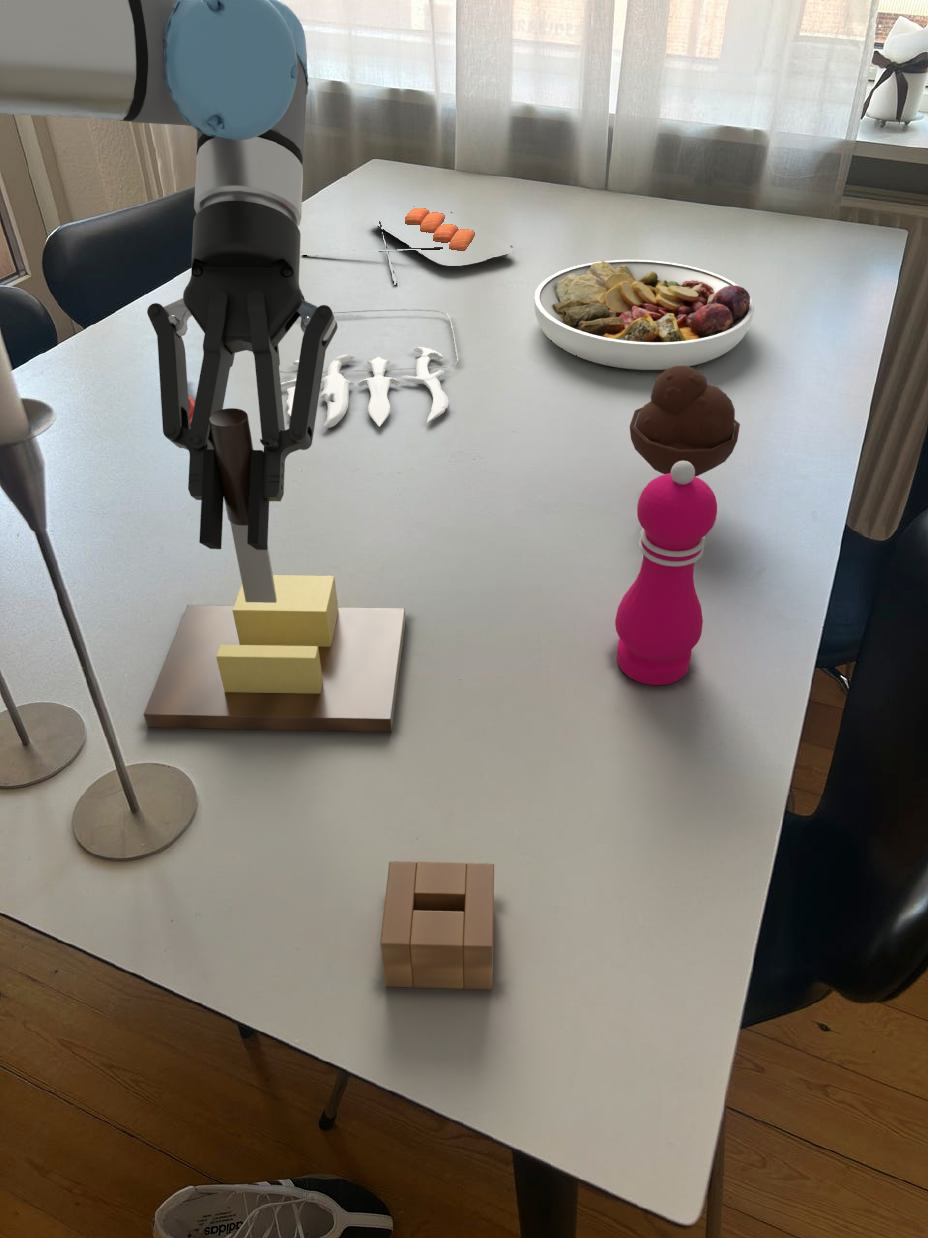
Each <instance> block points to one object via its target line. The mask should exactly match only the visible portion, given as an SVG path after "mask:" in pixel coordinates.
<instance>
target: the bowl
mask: <svg viewBox="0 0 928 1238" xmlns="http://www.w3.org/2000/svg"><path fill="white" fill-rule="evenodd" d="M533 304H534V305H533V307H534V314H535V315H534V316H535V318H536V321H537V323H538V325H539V327H540V329H541V330H542V332H543V333H544V334H545V336H546V337H547V338H548V339H549V340H550V341H551V340H552V341H551V342H552V343H554V344H555V346H557V347H559V348H560V349H562V348H563V349H562V350H564V351H566V352H567V353H568V354H571V355H574V356H576V355H577V356H576V357H578V358H580V359H583V360H585V361H588V362H591V363H595V364H599V365H603V366H607V367H613V368H618V369H627V370H637V371H639V370H640V371H666V370H667V369H669V368H671V367H674V366H689V367H691V366H696V365H701V364H704V363H706V362H707V363H708V362H710V361H712V360H715V359H717V358H719V357H721V356H723V355H725V354H727V353H728V352H729V351H731V350H732V349H734V348H735V347H736V346H737V345H738V344H739V343H740V342H741V341H742V340H743V339H744V337H745V336H746V335H747V333H748V331H749V329H750V327H751V324H752V321H753V319H754V318H753V317H754V313H755V305H754V301H753V299H752V297H751V295H750V293H749V292H748V290H746V289H745V287H742V286H741V285H739V284H738V283H736V282H734V281H733V280H731V279H729V278H727V277H725V276H723V275H720V274H718V273H715V272H712V271H710V270H706V269H704V268H699V267H696V266H692V265H687V264H681V263H676V262H670V261H669V262H668V261H662V260H661V261H660V260H649V259H615V260H613V259H612V260H601V261H594V262H589V263H583V264H579V265H574V266H571V267H568V268H566V269H562V270H559V271H558V272H556V273H553V274H552V275H550V276H548V277H547V278H545V279H544V280H543V281H542V282H541V283H540V284H539V285H538V287H537V288H536V290H535V292H534V301H533Z"/></svg>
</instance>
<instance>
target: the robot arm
mask: <svg viewBox="0 0 928 1238" xmlns="http://www.w3.org/2000/svg"><path fill="white" fill-rule="evenodd" d="M307 53H308V52H307V42H306V33H305V30H304V27H303V24H302V23H301V21H300V19H299V18H298V16H297V14H295V12H294V11H293V10H292V9H291V8H290V7H289V6H288V5H287V4H286V3H284V2H283V1H281V0H0V115H18V116H19V115H20V116H39V117H40V116H41V117H55V118H56V117H58V118H77V119H95V120H115V121H121V122H130V123H136V124H137V123H138V124H154V125H155V124H156V125H176V126H186V127H187V126H188V127H191V128H193V129H195V130H196V163H195V165H196V167H195V183H194V184H195V185H194V198H193V199H194V200H193V209H194V211H195V216H194V217H193V220H192V221H193V222H192V223H193V224H192V240H191V241H192V243H191V262H190V263H191V264H190V267H191V268H190V269H191V271H190V272H191V275H190V279H189V280H188V283H187V285H186V286H185V288H184V290H183V293H182V298H179V299H178V300H175V301H174V302H170V303H169V304H167V305H165V306H163V305H162V304H160V303H158V302H154V303H150V305H149V306H148V307H147V312H146V313H147V316H148V319H149V321H150V323H151V325H152V327H153V330H154V332H155V334H156V337H157V338H156V339H157V340H156V341H157V355H158V373H159V387H160V405H161V420H162V433H163V435H164V437H165V438H166V439H168V440H169V441H170V442H171V443H173V445H174V446H176V447H177V448H180V449H185V450H187V451H188V453H189V463H188V464H189V465H188V483H187V490H188V492H189V495H190V497H192V498H193V499H194V500H196V501H200V520H199V540H198V543H199V544H201V545H203V546H205V547H207V548H208V549H210V550H222V541H223V521H224V519H223V518H224V496H223V491H222V485H221V480H220V475H219V470H218V465H217V460H216V455H215V450H214V445H213V439H212V434H211V429H210V424H209V417H210V416H211V415H212V414H213V413H214V412H216V411H219V410H222V409H224V404H225V399H226V393H227V388H228V381H229V375H230V371H231V368H232V367H233V365H234V361H235V354H237V353H240V352H244V351H248V352H251V353H252V354H253V356H254V357H253V359H254V366H255V367H254V368H255V379H256V388H257V400H258V401H257V402H258V409H259V410H258V411H259V422H260V432H261V438H260V439H259V442H260V443H261V445H262V446H263V450H262V449H253V450H251V465H250V489H249V513H248V537H247V544H249V545H250V546H252V547H253V548H255V549H256V550H267V545H269V544H268V543H269V520H270V519H269V517H270V502H281V501H282V499H283V497H284V493H285V472H286V471H285V469H286V459H287V457H288V456H289V455H291V454H292V453H294V452H297V451H306V450H309V448H311V447H312V444H313V439H314V434H315V433H314V432H315V425H316V420H317V413H318V405H319V400H320V399H319V398H320V394H321V386H322V385H321V384H322V383H321V379H322V378H323V373H322V372H324V365H325V359H326V351H327V349H328V347H329V345H330V344H331V342H332V340H333V338H334V336H335V335H336V333H337V330H338V322H337V319H336V317H335V315H334V313H333V312H334V311H333V310H332V309H331V307H330V306H328V305H326V304H322V305H318V306H317V305H315V304H313V303H312V302H309V301H307V300H305V296H304V294H303V292H302V289H301V288H300V266H301V265H300V261H301V259H300V258H301V231H300V229H299V226H300V225H301V222H302V209H303V207H302V206H303V183H304V182H303V179H304V172H303V171H304V170H303V169H304V168H303V164H304V149H305V127H306V112H307V111H306V110H307V95H308V93H309V91H308V90H309V85H310V84H309V73H308V54H307ZM190 317H193V319H194V321H196V323H197V325H198V326H199V327H200V329H201V330H202V332H203V333H204V337H203V341H202V350H203V356H202V362H201V367H200V373H199V378H198V385H197V388H196V394H195V399H194V400H195V405H194V411H193V416H192V422H191V426H190V417H189V401H188V395H189V388H188V387H189V386H188V372H187V357H186V356H187V355H186V354H187V353H186V347H185V343H184V340H183V337H184V336H186V334H187V332H188V321H189V319H190ZM299 318H301V320H300V324H299V325H300V329H301V331H302V333H303V336H302V340H301V344H300V345H301V346H300V353H299V359H298V360H299V365H297V371H296V377H297V378H296V377H295V378H296V384H294V386H295V392H294V398H293V405H292V412H291V417H290V419H289V425H288V429H287V428H286V427H285V414H284V405H283V404H284V403H283V395H282V394H283V393H282V387H281V383H282V382H281V372H279V371H280V366H281V359H280V349H279V344H280V342H281V341H282V340H283V339H284V337H285V336H286V335H287V334H288V332H289V331H290V329H291V328H292V327H293V326H294V324H295V323H296V322H297V321H298V320H299Z"/></svg>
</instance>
